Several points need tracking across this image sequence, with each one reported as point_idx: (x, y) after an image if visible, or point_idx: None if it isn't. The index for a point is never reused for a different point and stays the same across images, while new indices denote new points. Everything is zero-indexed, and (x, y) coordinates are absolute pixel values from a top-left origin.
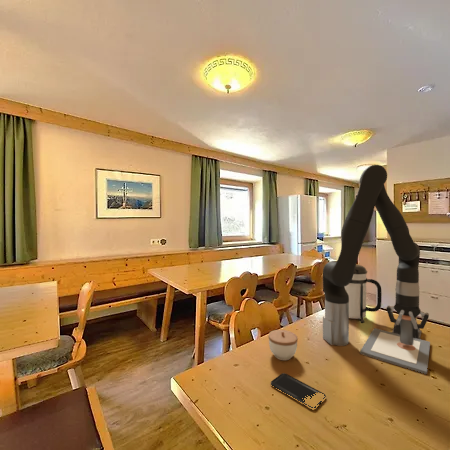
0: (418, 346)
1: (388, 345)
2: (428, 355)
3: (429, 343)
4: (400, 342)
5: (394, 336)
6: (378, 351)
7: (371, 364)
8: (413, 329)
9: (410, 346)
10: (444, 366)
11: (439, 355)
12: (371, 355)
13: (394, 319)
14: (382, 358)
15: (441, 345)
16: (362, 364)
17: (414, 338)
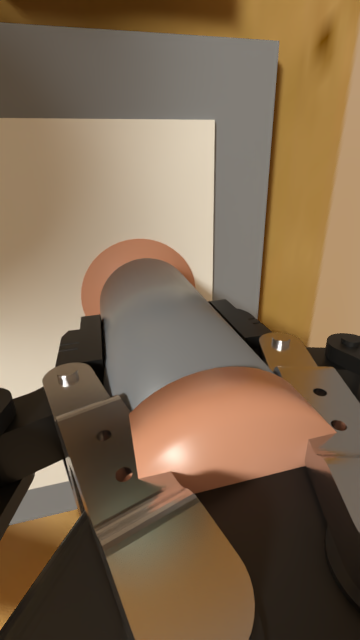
0: (207, 234)
1: (46, 369)
2: (256, 318)
3: (272, 92)
4: (95, 263)
5: (14, 154)
6: (34, 479)
7: (52, 548)
8: None
9: None
10: (305, 342)
11: (302, 228)
12: (22, 518)
13: (27, 461)
14: (76, 507)
15: (339, 6)
16: (24, 573)
17: (166, 51)
